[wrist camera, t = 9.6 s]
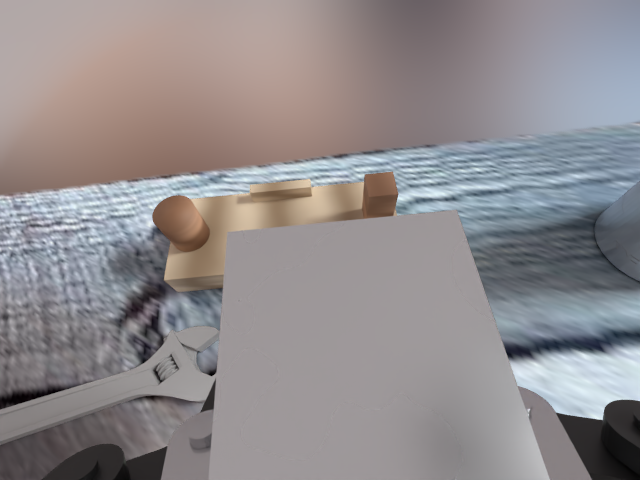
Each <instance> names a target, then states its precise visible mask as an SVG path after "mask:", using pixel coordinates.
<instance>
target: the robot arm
mask: <svg viewBox="0 0 640 480" xmlns="http://www.w3.org/2000/svg"><path fill="white" fill-rule="evenodd" d="M595 238H596V241H597V244H598V246H599V247H600V249H601V251H602V253H603V254H604V255H605V256H606V258H607V259H608V260H609V261H610V262H611V263H612V264H613V265H614V266H616V267H617V268H618V269H619V270H621V271H622V272H624V273H625V274H627V275H628V276H630V277H632V278H634V279H636V280H638V281H640V181H639V182H638V183H637V184H636V185H634V186H633V187H632V188H631V189H629V190H628V191H627V192H626V193H625V194H624V195H622V196H621V197H620V198H619V199H618V200H617V201H615V202H614V203H613V204H612V205H611V206H610V207H608V208H607V209H606V210H605V211H604V212H603V213H601V214H600V216H599V217H598V219H597V220H596V224H595ZM215 387H216V379H215V381H214V383H213V385H212V388H211V390H210V392H209V394H208V396H207V399H206V401H205V403H204V405H203V408H202V410H201V412H200V413H198V414H196V415H194V416H192V417H190V418H189V419H187V420H186V421H184V422H183V423H182V424H181V425H180V426H179V427H178V428H177V429H176V430H175V431H174V433H173V434H172V436H171V438H170V440H169V443H168V446H166V447H164V448H162V449H159V450H157V451H154V452H151V453H148V454H145V455H142V456H140V457H137V458H134V459H131V460H128V461H126V460H125V456H124V453H123V451H122V449H121V448H120V447H119V446H116V445H113V444H101V445H96V446H93V447H90V448H87V449H85V450H82V451H80V452H78V453H76V454H75V455H73V456H71V457H69V458H68V459H66V460H65V461H64V462H62V463H61V464H60V465H58V466H57V467H56V468H55V469H54V470H52V471H51V472H50V473H49V474H48V475H47V476H45V477H44V478H43V479H42V480H208V479H209V465H210V452H211V439H212V426H213V413H214V400H215ZM518 389H519V392H520V395H521V397H522V400H523V403H524V406H525V409H526V412H527V415H528V418H529V421H530V424H531V426H532V429H533V432H534V435H535V438H536V441H537V444H538V447H539V450H540V452H541V455H542V458H543V461H544V464H545V467H546V470H547V473H548V476H549V479H550V480H640V401H635V400H617V401H613V402H611V403H609V404H607V406H606V407H605V410H604V416H603V420H597V419H590V418H583V417H577V416H570V415H564V414H559V413H556V412H555V411H554V409H553V408H552V406H551V405H550V404H549V403H548V402H547V401H546V400H545V399H543V398H542V397H541V396H539V395H538V394H536V393H534V392H532V391H530V390H528V389H525V388H522V387H519V386H518Z"/></svg>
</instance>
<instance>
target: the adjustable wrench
mask: <svg viewBox="0 0 640 480" xmlns="http://www.w3.org/2000/svg"><path fill="white" fill-rule="evenodd" d="M219 334H220V331H219V330H218V329H216V328H213V327H208V326H196V327H191V328H187V329H184V330H181V331H179V332H176V331H174V330H171V331H170V332H169V334H168V336H167V337H165V338H164V339H163V340H164V344H163V345H162V347H161V348H160V349H159V350H158V351H157V352H156V353H155V354H154V355H153V356H152V357H151V358H150V359H149V360H147V361H146V362H145V363H143V364H142V365H140V366H138V367H136V368H134V369H131V370H129V371H126V372H123V373H119V374H116V375H113V376H110V377H106V378H103V379H100V380H96V381H93V382H90V383H87V384H83V385H80V386H77V387H73V388H70V389H67V390H64V391H60V392H57V393H54V394H50V395H47V396H44V397H41V398H37V399H34V400H31V401H27V402H24V403H21V404H18V405H14V406H11V407H8V408H4V409H1V410H0V445H1V444H4V443H7V442H10V441H13V440H16V439H19V438H22V437H25V436H28V435H31V434H34V433H36V432H39V431H42V430H45V429H48V428H51V427H54V426H57V425H60V424H63V423H66V422H68V421H71V420H74V419H77V418H80V417H83V416H86V415H89V414H92V413H95V412H98V411H101V410H103V409H106V408H109V407H112V406H115V405H118V404H121V403H124V402H127V401H130V400H133V399H135V398H139V397H143V396H154V395H155V396H169V397H176V398H180V399H185V400H189V401H194V402H205V401H206V399H207V396H208V394H209V392H210V390H211V388H212V385H213V383H214V381H215V379H216V374H217V373H215V374H214V375H213V376H209V375H207V374H205V373H202V372H201V371H200V369H199V367H198V365H197V363H196V357H197V352H198V351H200V352H203V351H204V350H205V349H206V348H208V347H209V346H210V345H212V344H213V343H214V342H215V341H217V340H218V339H219ZM156 371H157V372H156ZM157 373H158V374H157ZM158 375H159V376H158ZM159 377H160V378H159ZM161 380H162V381H163V382H162V381H161Z"/></svg>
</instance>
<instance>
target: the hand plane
mask: <svg viewBox="0 0 640 480" xmlns="http://www.w3.org/2000/svg"><path fill="white" fill-rule="evenodd" d="M397 198H398V191H397V187H396V183H395V179H394V175H393V172H386V173H376V174H366V175H365V178H364V182H358V183H348V184H338V185H328V186H318V187H311V182H310V179H306V180H296V181H286V182H276V183H266V184H256V185H250V193H247V194H237V195H227V196H217V197H207V198H197V199H189V198H187V197H185V196H172V197H169V198H166V199H165V200H163V201H162V202H160V203H159V204H158V205H157V206H156V208H155V210H154V212H153V222H154V224H155V225H156V226H157V227H158V228H159V229H160V230H161V232H162V233H163V234H164V235H165V236H166V237H167V238H168V239H169V240H170V246H169V252H168V258H167V264H166V270H165V276H164V281H165V282H166V283H168V284H169V285H170V286H171V287H172V288H173V289H175V290H176V291H177V292H186V291H196V290H207V289H217V288H223V282H224V269H225V255H226V242H227V232H232V231H242V230H253V229H263V228H274V227H284V226H295V225H305V224H315V223H326V222H336V221H347V220H357V219H367V218H378V217H388V216H397V214H396V210H395V206H396V202H397Z"/></svg>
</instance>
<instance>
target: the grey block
mask: <svg viewBox="0 0 640 480" xmlns="http://www.w3.org/2000/svg"><path fill="white" fill-rule="evenodd" d="M208 480H550V479H549V476H548V473H547V470H546V467H545V464H544V461H543V458H542V455H541V452H540V450H539V447H538V444H537V441H536V438H535V435H534V432H533V429H532V426H531V424H530V421H529V418H528V415H527V412H526V409H525V406H524V403H523V400H522V397H521V395H520V392H519V389H518V386H517V383H516V380H515V377H514V374H513V371H512V369H511V366H510V363H509V360H508V357H507V354H506V351H505V348H504V345H503V342H502V340H501V337H500V334H499V331H498V328H497V325H496V322H495V319H494V316H493V313H492V311H491V308H490V305H489V302H488V299H487V296H486V293H485V290H484V287H483V285H482V282H481V279H480V276H479V273H478V270H477V267H476V264H475V261H474V258H473V256H472V253H471V250H470V247H469V244H468V241H467V238H466V235H465V232H464V230H463V227H462V224H461V221H460V218H459V215H458V212H457V210H451V211H440V212H430V213H419V214H409V215H399V216H388V217H378V218H367V219H357V220H347V221H336V222H326V223H315V224H305V225H295V226H284V227H274V228H263V229H253V230H242V231H232V232H227V242H226V255H225V269H224V282H223V295H222V308H221V321H220V334H219V347H218V360H217V374H216V387H215V400H214V413H213V426H212V439H211V452H210V465H209V479H208Z"/></svg>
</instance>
